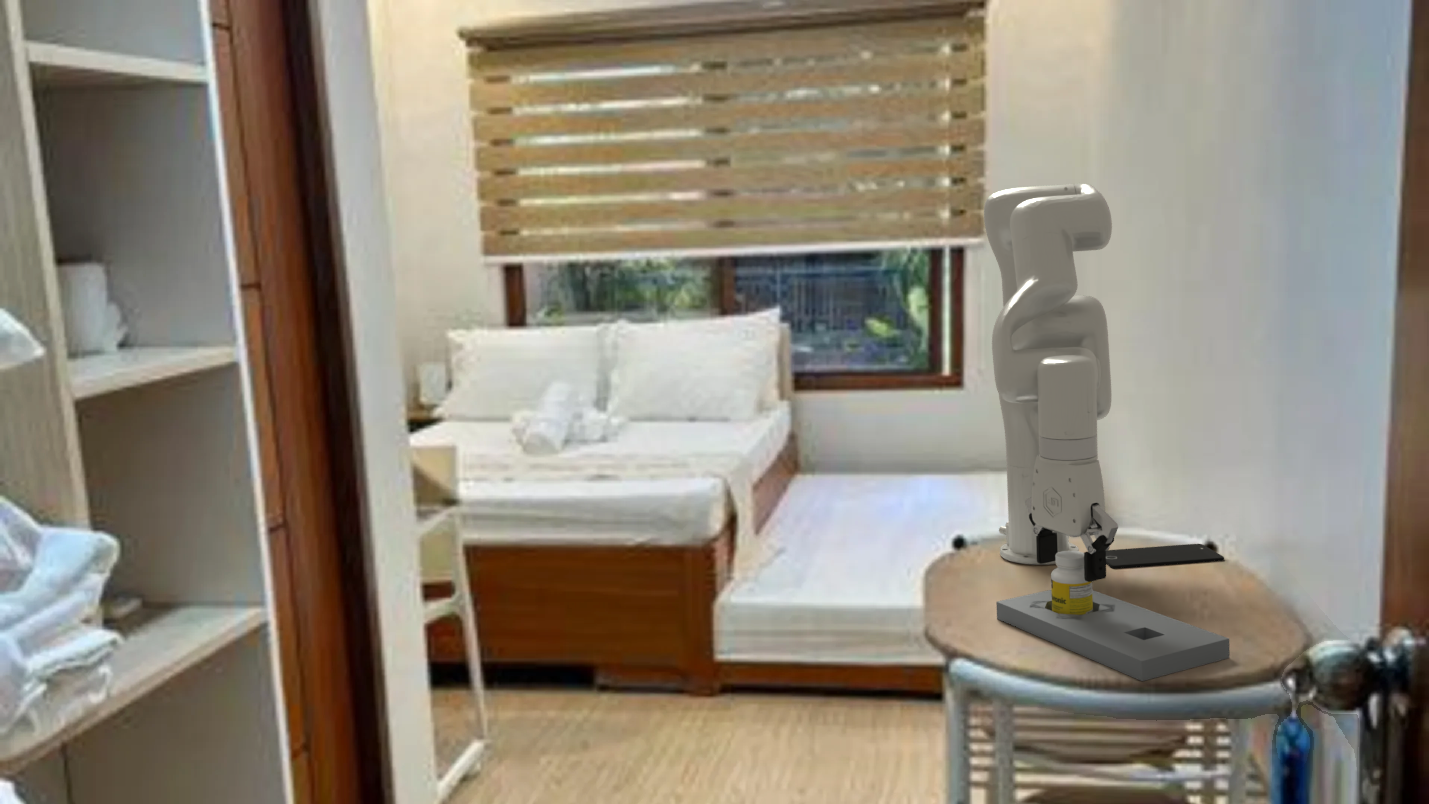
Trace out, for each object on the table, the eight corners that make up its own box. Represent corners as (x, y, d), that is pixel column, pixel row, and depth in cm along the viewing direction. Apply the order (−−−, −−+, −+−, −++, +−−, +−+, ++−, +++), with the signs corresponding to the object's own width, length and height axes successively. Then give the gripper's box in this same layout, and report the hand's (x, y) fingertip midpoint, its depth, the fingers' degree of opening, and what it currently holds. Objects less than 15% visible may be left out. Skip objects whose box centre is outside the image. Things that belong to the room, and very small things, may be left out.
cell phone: (1093, 556, 197) (1092, 551, 197) (1201, 548, 197) (1201, 543, 197) (1112, 571, 188) (1112, 565, 188) (1225, 563, 189) (1225, 557, 188)
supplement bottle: (1046, 619, 167) (1044, 550, 166) (1084, 615, 167) (1082, 547, 166) (1060, 631, 162) (1058, 561, 160) (1099, 628, 162) (1098, 557, 161)
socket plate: (996, 618, 168) (996, 601, 168) (1076, 600, 174) (1075, 584, 173) (1141, 681, 143) (1141, 661, 142) (1229, 657, 148) (1229, 638, 148)
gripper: (1005, 442, 167) (1008, 560, 170) (1090, 462, 152) (1092, 592, 154) (1048, 434, 170) (1051, 550, 173) (1136, 454, 155) (1137, 581, 157)
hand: (1070, 570), depth 164 cm, fingers open, 9 cm apart
